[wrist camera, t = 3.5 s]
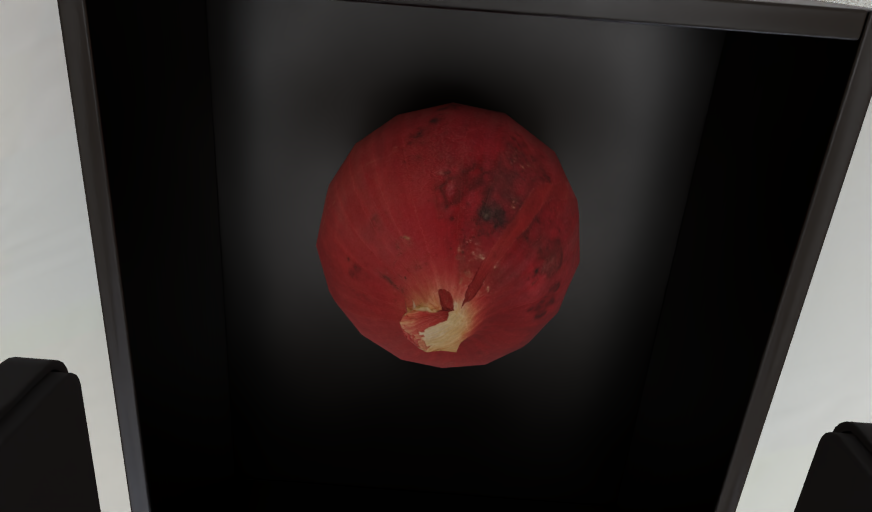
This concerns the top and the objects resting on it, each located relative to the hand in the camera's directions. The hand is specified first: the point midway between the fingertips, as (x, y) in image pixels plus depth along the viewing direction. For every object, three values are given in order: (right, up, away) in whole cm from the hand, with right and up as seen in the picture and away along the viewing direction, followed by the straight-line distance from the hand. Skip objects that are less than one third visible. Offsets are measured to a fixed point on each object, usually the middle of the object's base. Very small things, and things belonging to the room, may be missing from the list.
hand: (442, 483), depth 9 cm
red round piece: (0, +5, +10) cm, 12 cm away
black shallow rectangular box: (0, +2, +12) cm, 12 cm away
